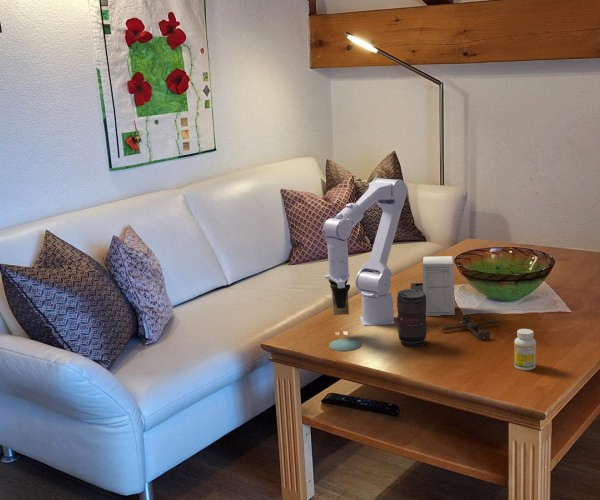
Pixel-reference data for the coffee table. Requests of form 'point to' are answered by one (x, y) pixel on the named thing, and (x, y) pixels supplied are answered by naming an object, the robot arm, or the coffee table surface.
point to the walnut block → (339, 310)
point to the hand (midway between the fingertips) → (340, 305)
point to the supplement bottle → (525, 350)
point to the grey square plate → (343, 332)
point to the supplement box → (439, 285)
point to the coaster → (344, 345)
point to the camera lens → (411, 317)
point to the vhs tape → (417, 286)
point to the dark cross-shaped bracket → (473, 327)
